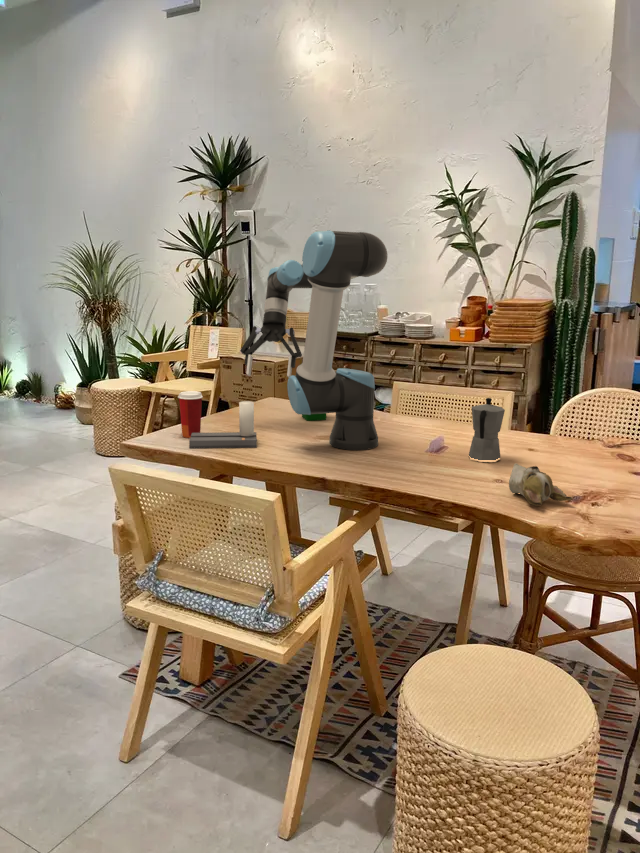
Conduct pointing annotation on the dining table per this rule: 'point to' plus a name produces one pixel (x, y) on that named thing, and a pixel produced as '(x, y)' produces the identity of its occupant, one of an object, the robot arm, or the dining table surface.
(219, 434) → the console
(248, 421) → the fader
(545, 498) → the ceramic sculpture
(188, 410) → the paper cup
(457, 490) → the dining table surface
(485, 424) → the coffeepot
